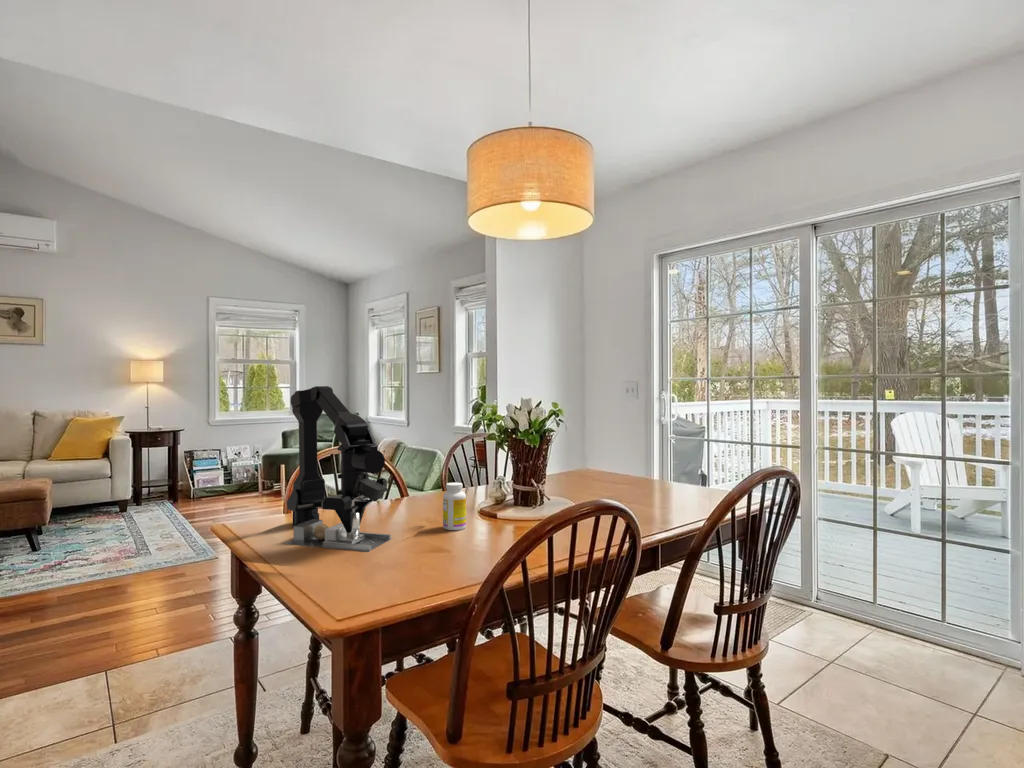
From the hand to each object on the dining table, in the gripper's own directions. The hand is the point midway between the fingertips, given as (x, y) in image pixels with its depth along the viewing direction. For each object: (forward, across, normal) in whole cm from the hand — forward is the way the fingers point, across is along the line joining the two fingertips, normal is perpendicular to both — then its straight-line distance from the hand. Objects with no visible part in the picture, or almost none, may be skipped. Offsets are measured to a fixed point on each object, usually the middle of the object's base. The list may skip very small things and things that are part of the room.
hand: (352, 530), depth 146 cm
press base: (+4, 0, +4) cm, 6 cm away
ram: (+3, 0, +2) cm, 3 cm away
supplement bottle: (+5, +26, -17) cm, 32 cm away
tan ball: (+3, 0, +9) cm, 10 cm away
